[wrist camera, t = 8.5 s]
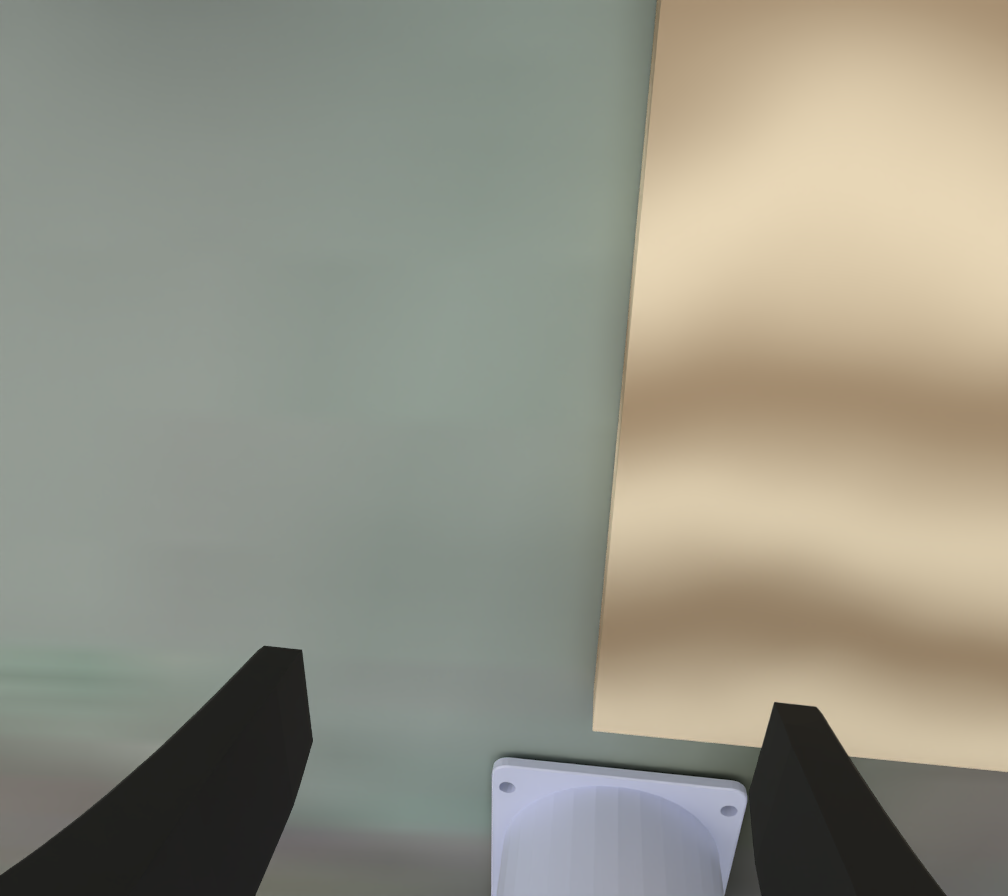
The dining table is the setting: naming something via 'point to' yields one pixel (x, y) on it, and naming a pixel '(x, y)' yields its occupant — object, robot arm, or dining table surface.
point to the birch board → (817, 383)
